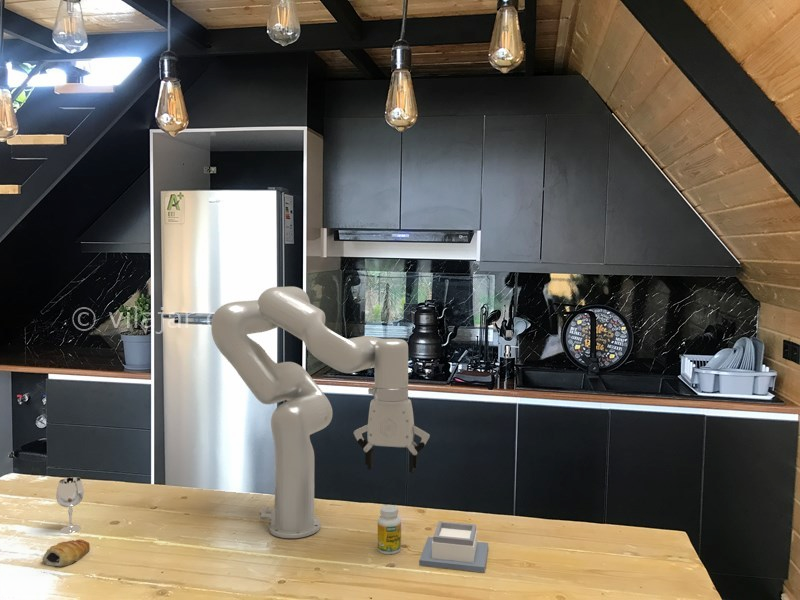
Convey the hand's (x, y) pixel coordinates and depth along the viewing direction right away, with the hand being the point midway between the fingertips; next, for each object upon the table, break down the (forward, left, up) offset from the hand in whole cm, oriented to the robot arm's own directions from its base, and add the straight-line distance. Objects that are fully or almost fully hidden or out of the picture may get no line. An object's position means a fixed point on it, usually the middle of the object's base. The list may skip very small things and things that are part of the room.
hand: (391, 469), depth 142 cm
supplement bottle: (0, 0, -19) cm, 19 cm away
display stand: (+15, 0, -19) cm, 24 cm away
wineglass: (-77, -7, -19) cm, 80 cm away
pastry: (-68, -20, -19) cm, 73 cm away
